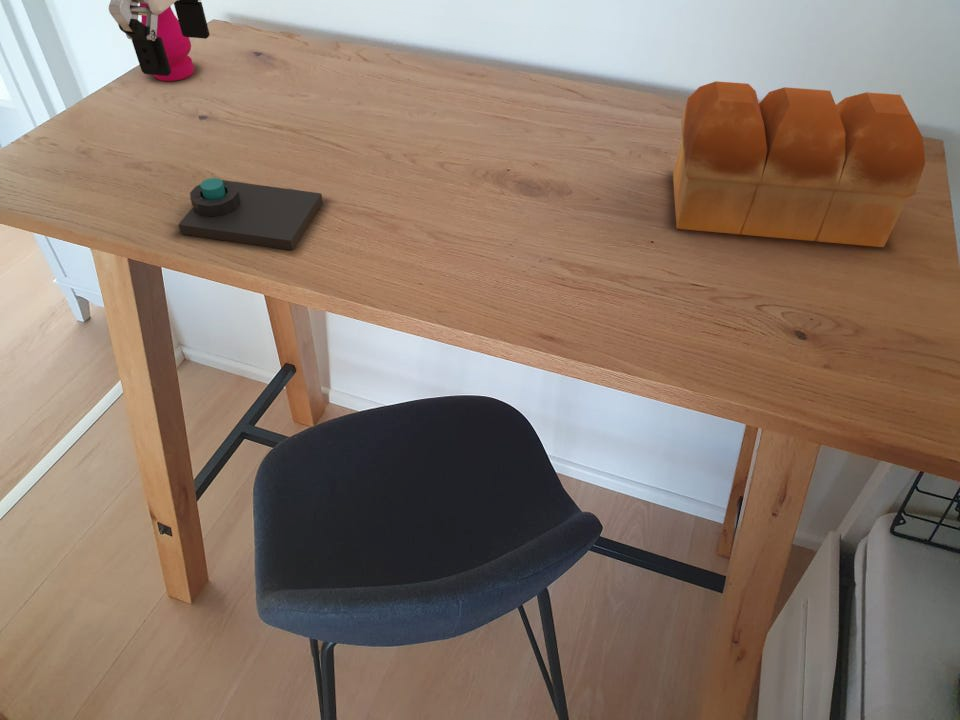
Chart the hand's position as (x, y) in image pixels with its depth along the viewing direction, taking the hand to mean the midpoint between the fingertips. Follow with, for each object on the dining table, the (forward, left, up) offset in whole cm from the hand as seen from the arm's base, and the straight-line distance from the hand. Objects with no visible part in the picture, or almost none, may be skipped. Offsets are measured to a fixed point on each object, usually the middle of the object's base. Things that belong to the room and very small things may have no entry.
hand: (177, 54), depth 86 cm
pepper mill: (-20, +28, -17) cm, 38 cm away
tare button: (+4, -6, -14) cm, 16 cm away
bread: (+70, +10, -17) cm, 73 cm away
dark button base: (+8, -6, -17) cm, 20 cm away
